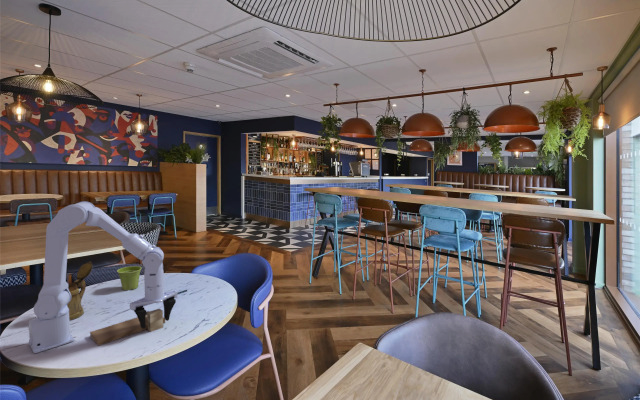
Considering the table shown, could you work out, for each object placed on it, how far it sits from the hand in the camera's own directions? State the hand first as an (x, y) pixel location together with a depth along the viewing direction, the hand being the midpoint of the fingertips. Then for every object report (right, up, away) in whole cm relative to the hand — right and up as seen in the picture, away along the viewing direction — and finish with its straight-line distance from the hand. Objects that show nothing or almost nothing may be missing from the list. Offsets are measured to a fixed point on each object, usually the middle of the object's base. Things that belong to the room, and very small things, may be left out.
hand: (155, 323), depth 107 cm
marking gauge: (-2, -2, +2) cm, 3 cm away
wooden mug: (-35, 0, +10) cm, 36 cm away
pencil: (-8, 0, +27) cm, 28 cm away
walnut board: (-8, -2, -1) cm, 8 cm away
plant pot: (-30, +2, +35) cm, 46 cm away
